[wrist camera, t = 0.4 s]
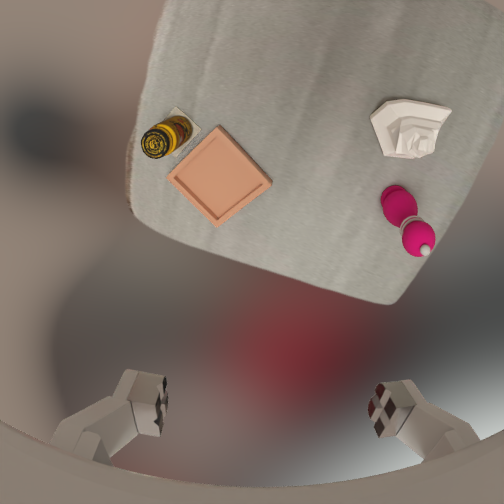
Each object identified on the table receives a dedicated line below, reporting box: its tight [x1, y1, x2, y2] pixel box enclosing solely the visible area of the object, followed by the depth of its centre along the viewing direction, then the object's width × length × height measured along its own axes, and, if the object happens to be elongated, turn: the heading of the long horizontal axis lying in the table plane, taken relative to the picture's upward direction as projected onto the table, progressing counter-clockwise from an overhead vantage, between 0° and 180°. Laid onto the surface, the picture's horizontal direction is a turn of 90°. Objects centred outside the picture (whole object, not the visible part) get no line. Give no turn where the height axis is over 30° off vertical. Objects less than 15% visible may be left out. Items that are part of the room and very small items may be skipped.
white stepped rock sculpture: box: [370, 99, 452, 159], centre depth 42 cm, size 12×15×14 cm
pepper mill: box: [381, 185, 435, 257], centre depth 48 cm, size 7×7×20 cm
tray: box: [166, 125, 272, 227], centre depth 58 cm, size 15×15×2 cm
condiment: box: [141, 106, 202, 159], centre depth 50 cm, size 7×8×12 cm
